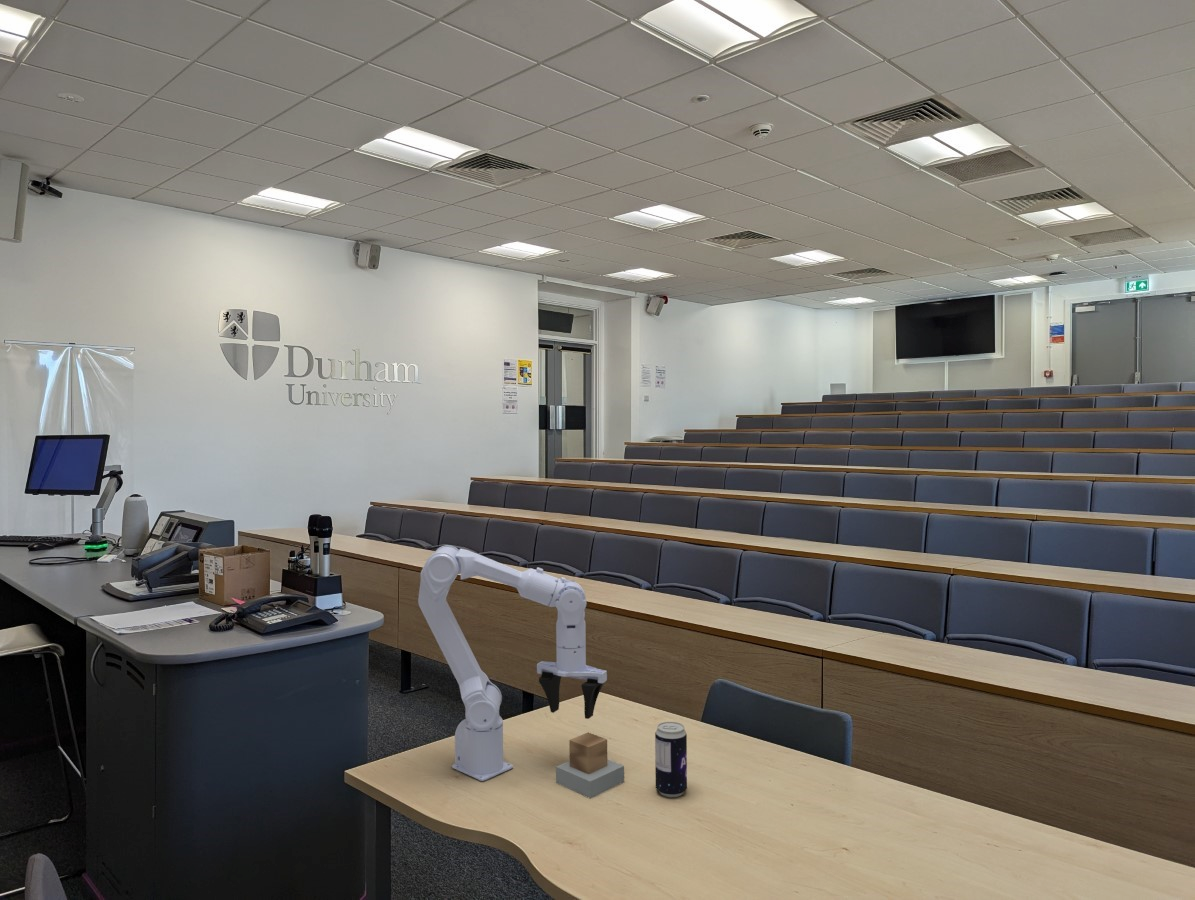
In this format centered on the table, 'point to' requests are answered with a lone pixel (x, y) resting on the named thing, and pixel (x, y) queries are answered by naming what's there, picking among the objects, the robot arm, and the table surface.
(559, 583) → the robot arm
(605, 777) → the grey block
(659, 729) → the beverage can
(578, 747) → the walnut cube
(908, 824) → the table surface
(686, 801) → the table surface
